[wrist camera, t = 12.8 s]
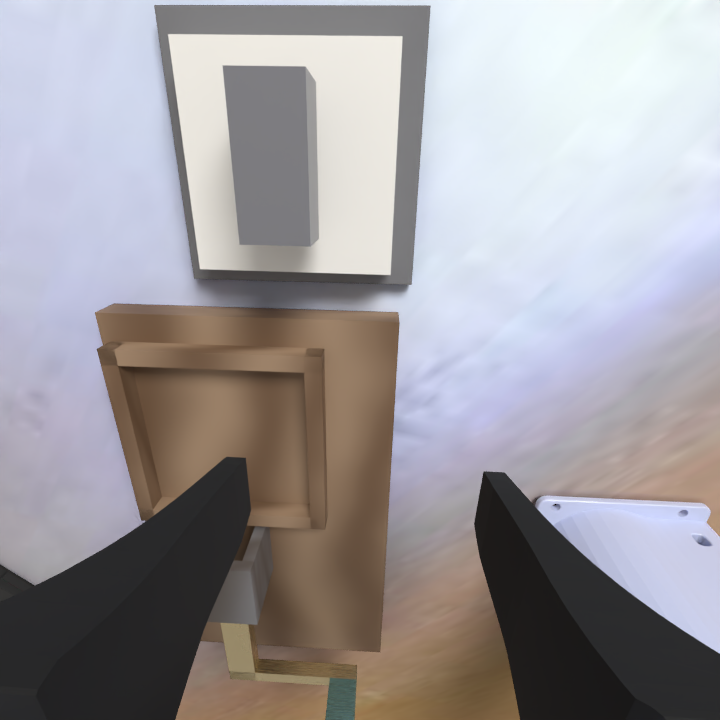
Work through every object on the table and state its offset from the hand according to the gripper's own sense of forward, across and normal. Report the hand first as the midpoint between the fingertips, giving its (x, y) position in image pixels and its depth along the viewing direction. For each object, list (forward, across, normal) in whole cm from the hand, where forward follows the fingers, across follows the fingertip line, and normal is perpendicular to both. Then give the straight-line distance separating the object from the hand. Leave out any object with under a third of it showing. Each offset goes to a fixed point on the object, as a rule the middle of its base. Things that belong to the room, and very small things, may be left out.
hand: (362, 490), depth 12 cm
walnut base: (+9, +6, +9) cm, 14 cm away
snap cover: (+9, +3, -9) cm, 13 cm away
